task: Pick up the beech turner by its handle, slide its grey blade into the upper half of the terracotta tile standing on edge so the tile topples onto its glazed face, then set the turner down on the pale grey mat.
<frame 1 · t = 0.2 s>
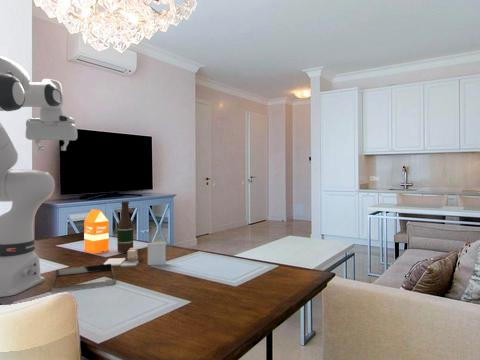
hand: (52, 150, 148), 48 cm above the table, tool pointing down, fingers open, 8 cm apart
beer bottle: (125, 251, 165), on the table
orange juice: (96, 251, 166), on the table
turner: (132, 261, 146), on the table
tile: (156, 264, 141), on the table
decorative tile: (84, 281, 121), on the table
mat: (114, 262, 143), on the table
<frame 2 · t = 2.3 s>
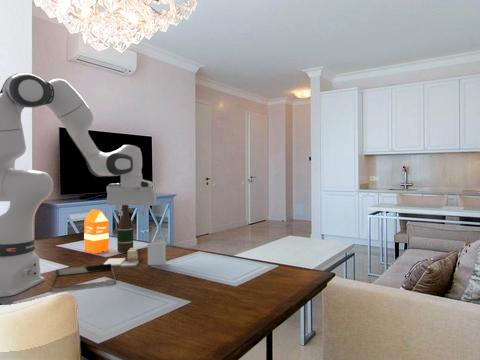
hand: (132, 215, 146), 20 cm above the table, tool pointing down, fingers open, 8 cm apart
nothing on the table moved.
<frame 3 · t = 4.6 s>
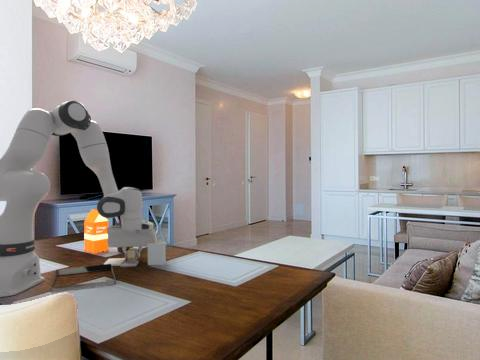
hand: (132, 256, 146), 2 cm above the table, tool pointing down, fingers closed on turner, 3 cm apart
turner: (132, 260, 146), on the table, touching gripper
everything else where it was.
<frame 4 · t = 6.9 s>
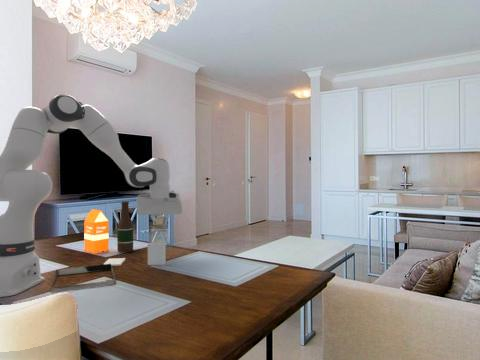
hand: (160, 224, 155), 14 cm above the table, tool pointing down, fingers closed on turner, 3 cm apart
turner: (160, 227, 155), point 13 cm above the table, touching gripper
everything else where it was.
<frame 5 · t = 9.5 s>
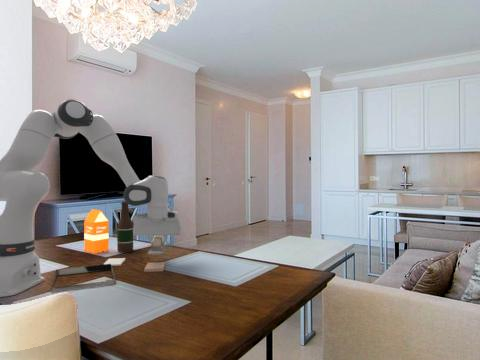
hand: (157, 245, 146), 7 cm above the table, tool pointing down, fingers closed on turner, 3 cm apart
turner: (157, 249, 146), point 5 cm above the table, touching gripper
tile: (156, 264, 140), on the table, tilted 90°
everything else where it was.
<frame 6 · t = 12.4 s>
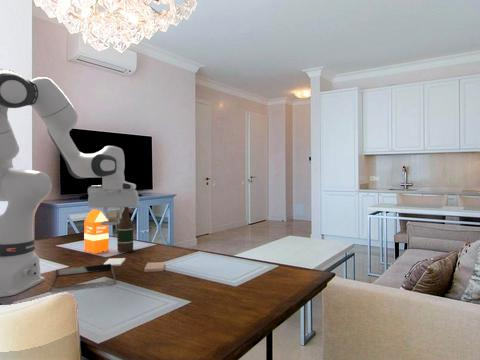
hand: (113, 218, 143), 19 cm above the table, tool pointing down, fingers closed on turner, 3 cm apart
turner: (114, 221, 143), point 17 cm above the table, touching gripper
everything else where it was.
when the fingers open (3 cm above the table, at t = 15.1 s): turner stays where it is, resting on mat.
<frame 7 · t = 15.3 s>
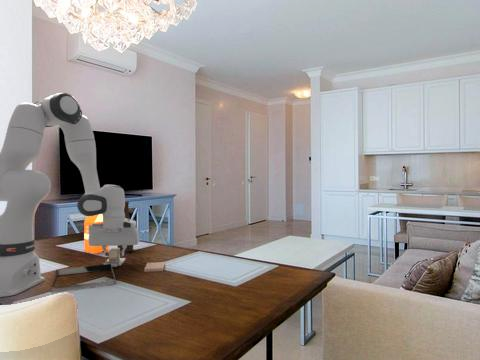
hand: (114, 255, 143), 3 cm above the table, tool pointing down, fingers open, 5 cm apart
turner: (114, 261, 144), point 1 cm above the table, touching mat
everything else where it was.
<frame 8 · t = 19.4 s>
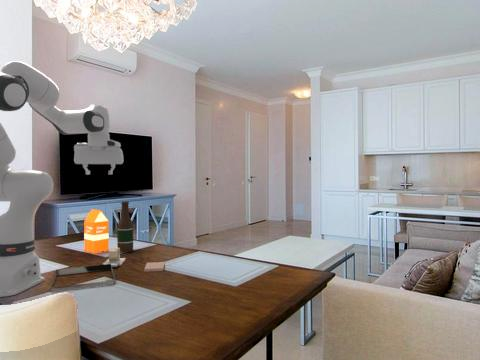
hand: (99, 174, 150), 37 cm above the table, tool pointing down, fingers open, 8 cm apart
nothing on the table moved.
at the end: tile tilted 90°; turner 0.2 cm from the mat (horizontally); the gripper is holding nothing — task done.
